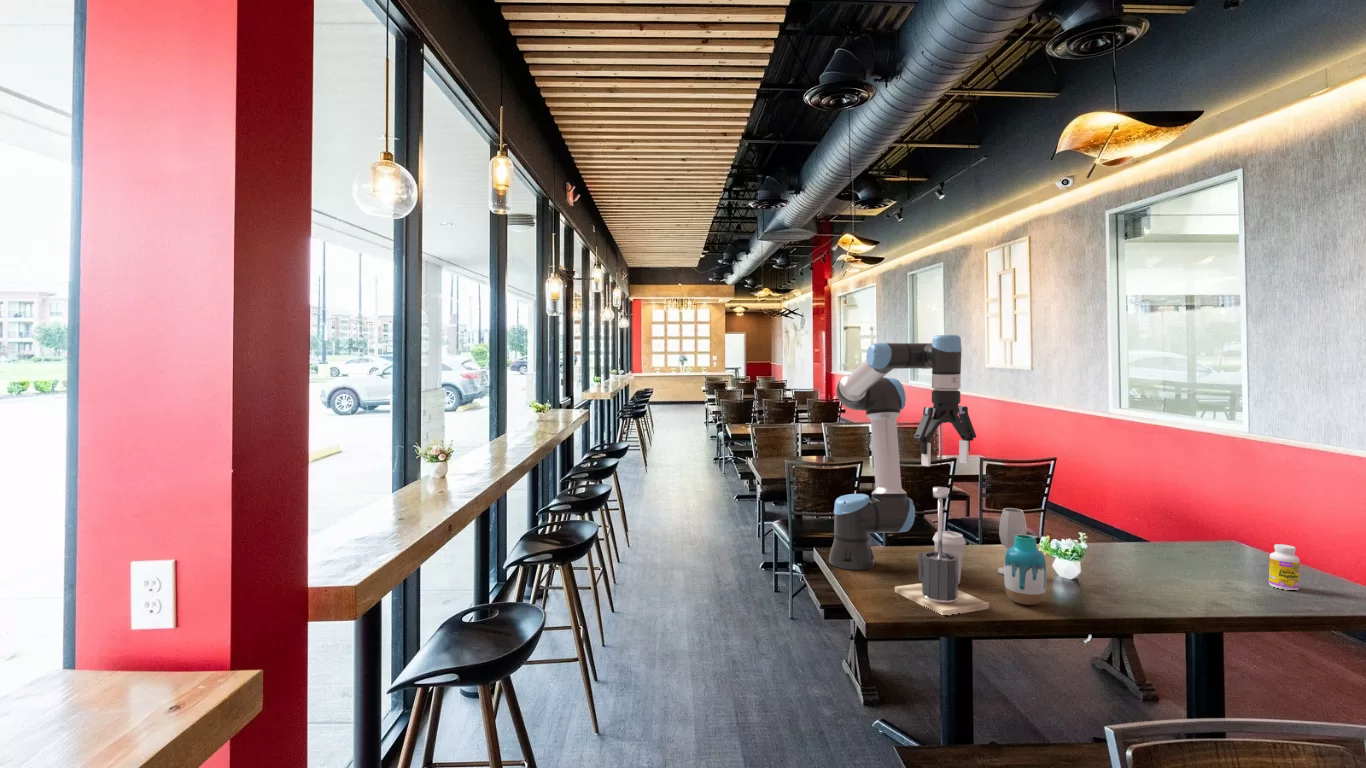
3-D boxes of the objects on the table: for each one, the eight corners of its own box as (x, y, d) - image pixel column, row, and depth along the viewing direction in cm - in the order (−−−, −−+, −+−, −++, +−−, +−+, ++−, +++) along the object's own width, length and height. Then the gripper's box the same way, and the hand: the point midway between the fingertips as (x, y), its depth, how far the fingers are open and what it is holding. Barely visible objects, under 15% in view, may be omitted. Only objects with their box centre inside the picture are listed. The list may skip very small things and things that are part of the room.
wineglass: (1021, 580, 199) (1021, 514, 199) (992, 573, 206) (993, 509, 205) (1031, 574, 205) (1032, 510, 204) (1003, 567, 211) (1004, 505, 211)
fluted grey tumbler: (908, 591, 185) (908, 550, 185) (933, 587, 188) (934, 547, 188) (938, 605, 173) (938, 562, 173) (964, 601, 176) (964, 559, 176)
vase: (1028, 612, 172) (1029, 543, 172) (995, 599, 182) (996, 533, 182) (1054, 606, 177) (1055, 538, 176) (1021, 594, 186) (1021, 530, 186)
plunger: (924, 558, 181) (924, 486, 180) (940, 556, 183) (941, 485, 182) (938, 564, 175) (939, 490, 175) (956, 562, 177) (956, 489, 177)
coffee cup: (968, 587, 192) (968, 538, 192) (935, 585, 194) (935, 537, 194) (961, 577, 202) (961, 531, 201) (929, 575, 203) (930, 529, 203)
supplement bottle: (1275, 590, 190) (1276, 547, 189) (1264, 583, 196) (1265, 542, 196) (1304, 592, 187) (1305, 550, 187) (1291, 585, 194) (1292, 544, 193)
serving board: (894, 591, 189) (894, 586, 189) (937, 585, 194) (937, 580, 194) (942, 616, 170) (942, 610, 170) (989, 608, 175) (989, 603, 175)
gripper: (920, 390, 170) (919, 469, 171) (990, 389, 179) (989, 463, 179) (901, 389, 177) (900, 464, 178) (969, 388, 186) (968, 460, 186)
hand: (945, 464), depth 179 cm, fingers open, 13 cm apart
